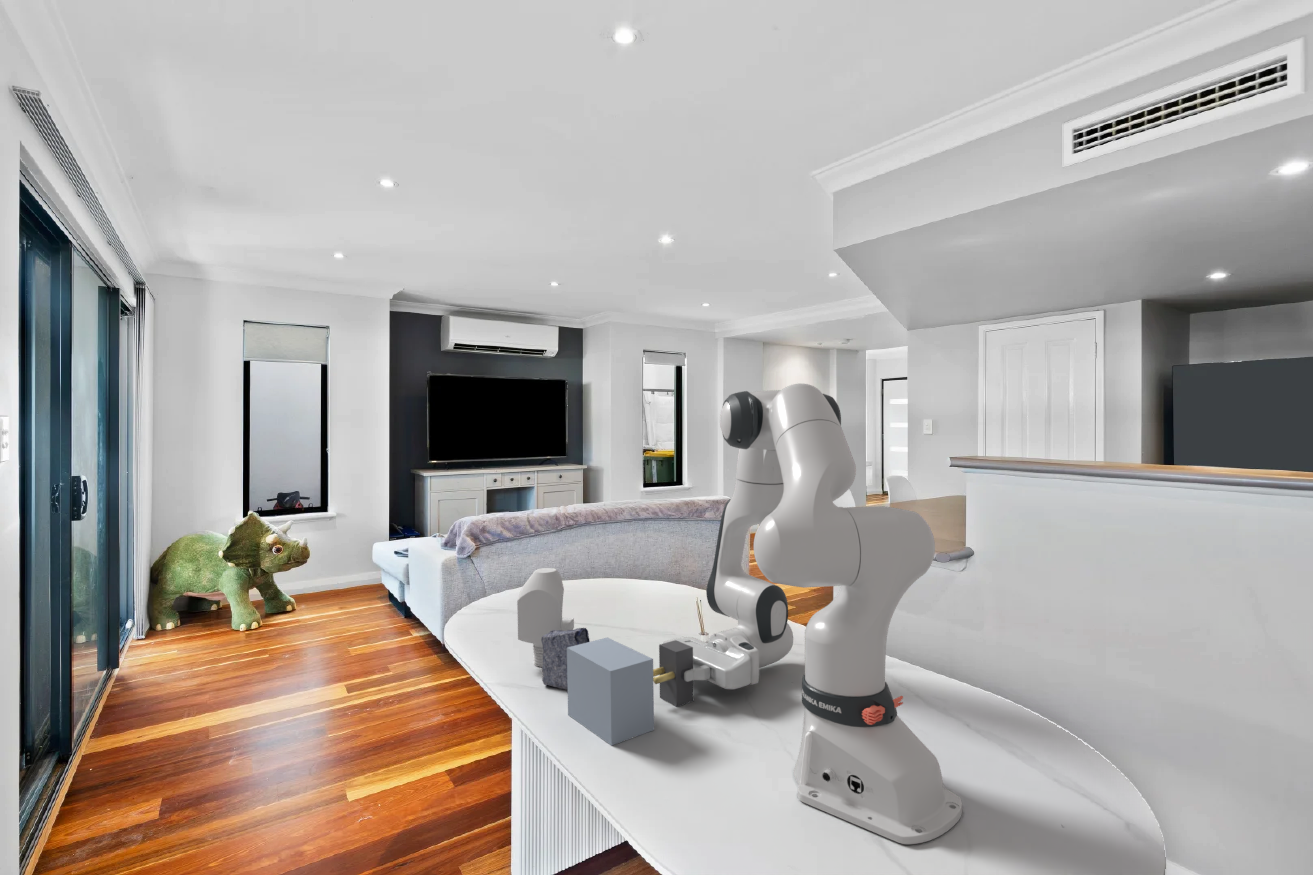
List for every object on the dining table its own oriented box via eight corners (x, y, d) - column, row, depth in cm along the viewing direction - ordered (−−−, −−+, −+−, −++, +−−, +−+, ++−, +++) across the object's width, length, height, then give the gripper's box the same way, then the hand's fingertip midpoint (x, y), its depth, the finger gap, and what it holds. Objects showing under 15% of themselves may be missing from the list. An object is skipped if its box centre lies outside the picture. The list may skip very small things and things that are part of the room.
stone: (602, 686, 131) (584, 690, 122) (556, 691, 133) (536, 696, 124) (596, 625, 135) (578, 624, 126) (552, 631, 137) (531, 631, 128)
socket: (655, 729, 109) (654, 658, 109) (611, 745, 104) (610, 671, 103) (609, 701, 120) (608, 636, 120) (568, 714, 115) (566, 647, 115)
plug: (694, 700, 120) (693, 646, 120) (659, 712, 115) (658, 657, 115) (677, 691, 124) (676, 639, 124) (642, 703, 119) (641, 649, 119)
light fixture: (561, 671, 135) (559, 575, 134) (518, 669, 136) (516, 574, 136) (574, 655, 144) (573, 566, 144) (534, 653, 146) (532, 564, 145)
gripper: (692, 625, 137) (639, 639, 128) (764, 652, 120) (708, 670, 112) (693, 655, 137) (639, 671, 128) (764, 685, 120) (709, 706, 112)
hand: (672, 670), depth 120 cm, fingers closed on plug, 5 cm apart
